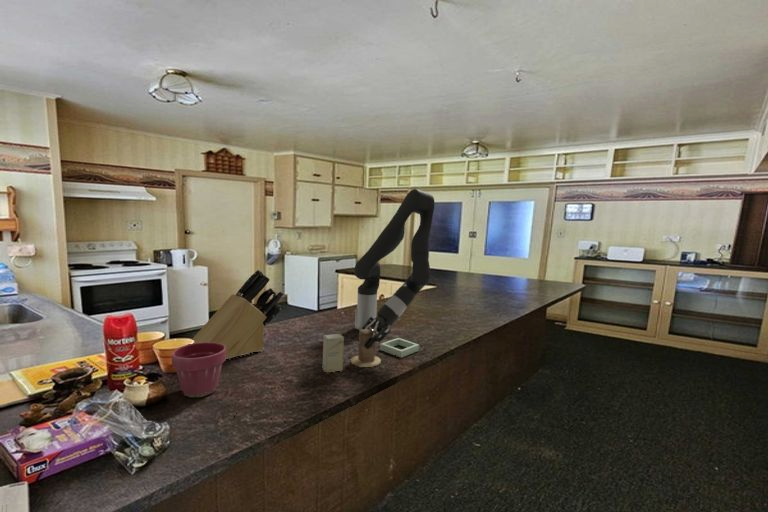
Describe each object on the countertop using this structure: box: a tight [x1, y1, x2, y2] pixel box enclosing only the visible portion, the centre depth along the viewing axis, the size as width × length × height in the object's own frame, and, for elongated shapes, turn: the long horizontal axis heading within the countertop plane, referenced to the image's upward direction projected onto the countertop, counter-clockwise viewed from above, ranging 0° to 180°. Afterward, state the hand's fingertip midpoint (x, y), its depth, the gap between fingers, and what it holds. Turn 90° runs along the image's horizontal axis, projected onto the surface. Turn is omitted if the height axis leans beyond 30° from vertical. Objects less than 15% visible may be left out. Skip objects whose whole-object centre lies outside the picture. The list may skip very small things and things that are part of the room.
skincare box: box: [321, 333, 345, 373], centre depth 127 cm, size 6×4×12 cm
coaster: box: [350, 355, 382, 368], centre depth 136 cm, size 11×11×1 cm
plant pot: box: [171, 342, 227, 394], centre depth 109 cm, size 14×14×13 cm
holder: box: [379, 337, 420, 359], centre depth 149 cm, size 11×11×2 cm
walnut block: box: [357, 329, 376, 363], centre depth 135 cm, size 4×4×11 cm
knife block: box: [191, 269, 285, 358], centre depth 138 cm, size 11×35×31 cm, turn 136°
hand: (362, 344), depth 135 cm, fingers open, 6 cm apart
